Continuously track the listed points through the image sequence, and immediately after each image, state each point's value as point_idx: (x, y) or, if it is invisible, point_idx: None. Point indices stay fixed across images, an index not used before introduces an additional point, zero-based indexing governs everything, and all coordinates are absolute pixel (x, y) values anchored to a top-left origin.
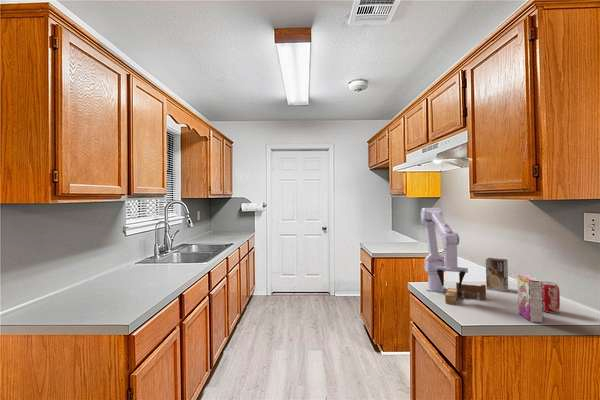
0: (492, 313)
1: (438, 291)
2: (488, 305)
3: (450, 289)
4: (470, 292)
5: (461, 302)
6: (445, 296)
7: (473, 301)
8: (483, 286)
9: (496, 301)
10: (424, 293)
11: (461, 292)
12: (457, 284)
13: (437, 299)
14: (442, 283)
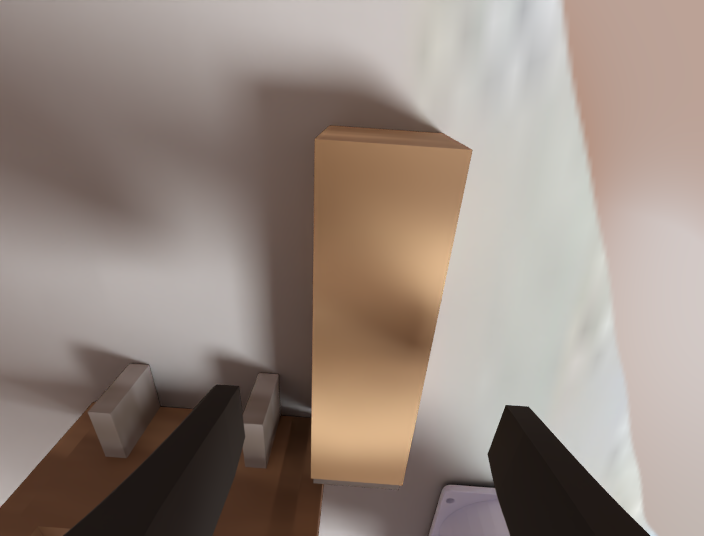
0: None
1: (477, 487)
2: (2, 229)
3: (381, 449)
4: None
5: (266, 246)
6: (462, 147)
7: (167, 317)
8: (9, 526)
9: (3, 372)
10: (614, 424)
11: (279, 451)
12: None
13: (518, 274)
14: (547, 444)
